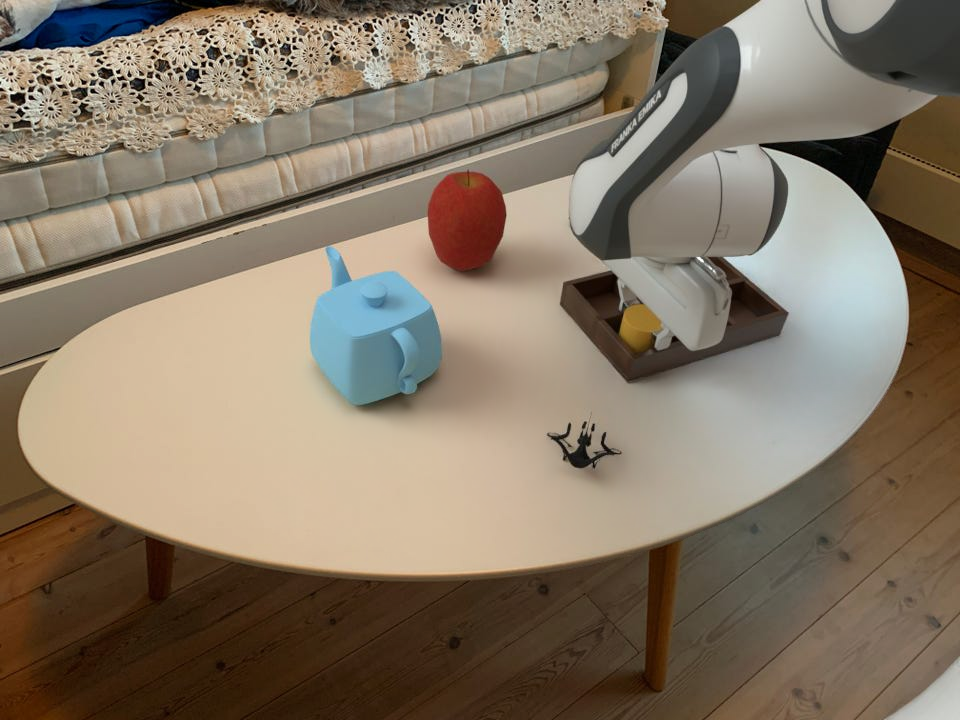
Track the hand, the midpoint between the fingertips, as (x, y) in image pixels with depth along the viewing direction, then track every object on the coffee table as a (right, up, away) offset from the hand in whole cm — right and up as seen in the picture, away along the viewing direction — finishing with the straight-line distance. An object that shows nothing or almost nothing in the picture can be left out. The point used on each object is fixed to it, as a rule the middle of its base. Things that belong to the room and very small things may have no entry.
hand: (642, 328), depth 90 cm
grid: (+5, +1, +7) cm, 9 cm away
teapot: (-31, -4, -2) cm, 31 cm away
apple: (-21, +9, +14) cm, 27 cm away
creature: (-8, -13, -10) cm, 19 cm away
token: (0, -1, +1) cm, 2 cm away
